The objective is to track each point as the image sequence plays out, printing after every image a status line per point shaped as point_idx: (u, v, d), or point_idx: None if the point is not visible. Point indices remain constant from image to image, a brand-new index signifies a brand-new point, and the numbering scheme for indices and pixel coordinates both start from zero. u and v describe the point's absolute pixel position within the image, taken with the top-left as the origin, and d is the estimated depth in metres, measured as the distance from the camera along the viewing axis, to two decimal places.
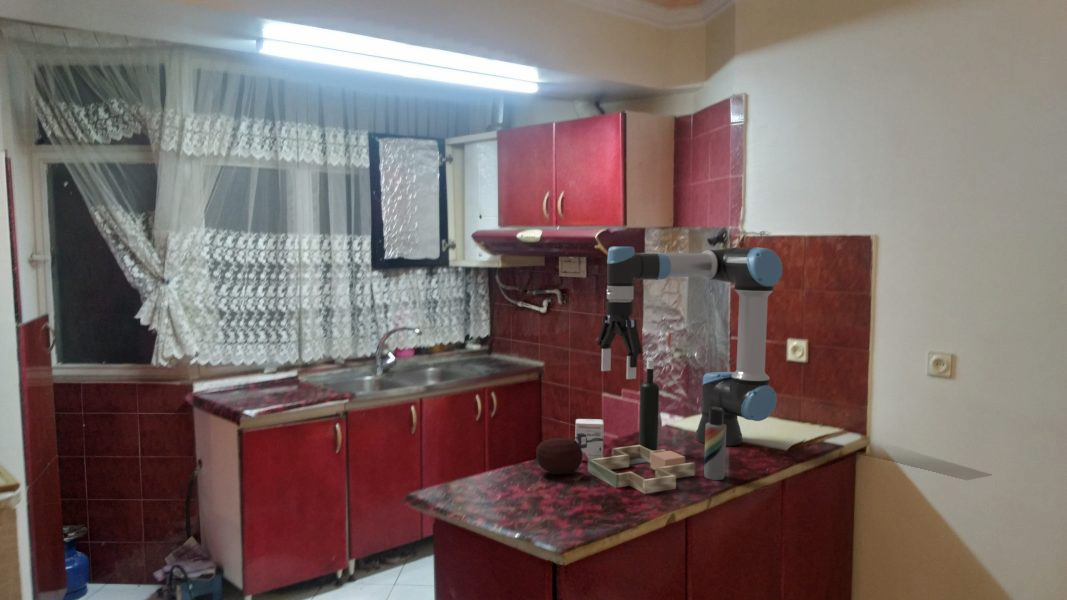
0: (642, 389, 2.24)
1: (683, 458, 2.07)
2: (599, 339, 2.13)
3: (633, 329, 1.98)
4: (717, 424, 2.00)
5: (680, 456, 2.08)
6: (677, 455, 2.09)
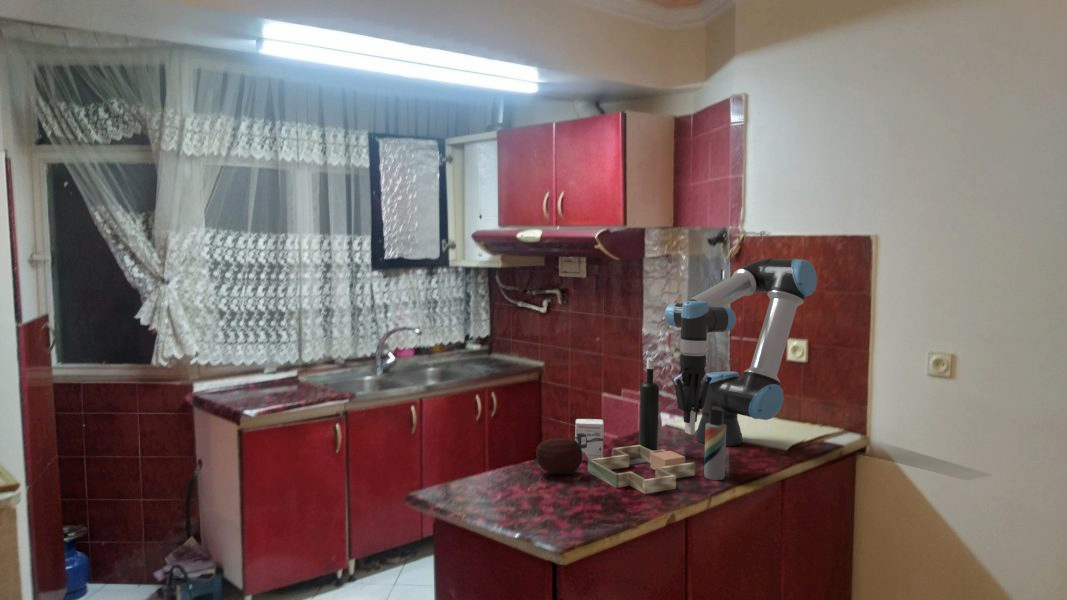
0: (642, 389, 2.24)
1: (683, 458, 2.07)
2: None
3: (677, 387, 2.08)
4: (717, 424, 2.00)
5: (680, 456, 2.08)
6: (677, 455, 2.09)
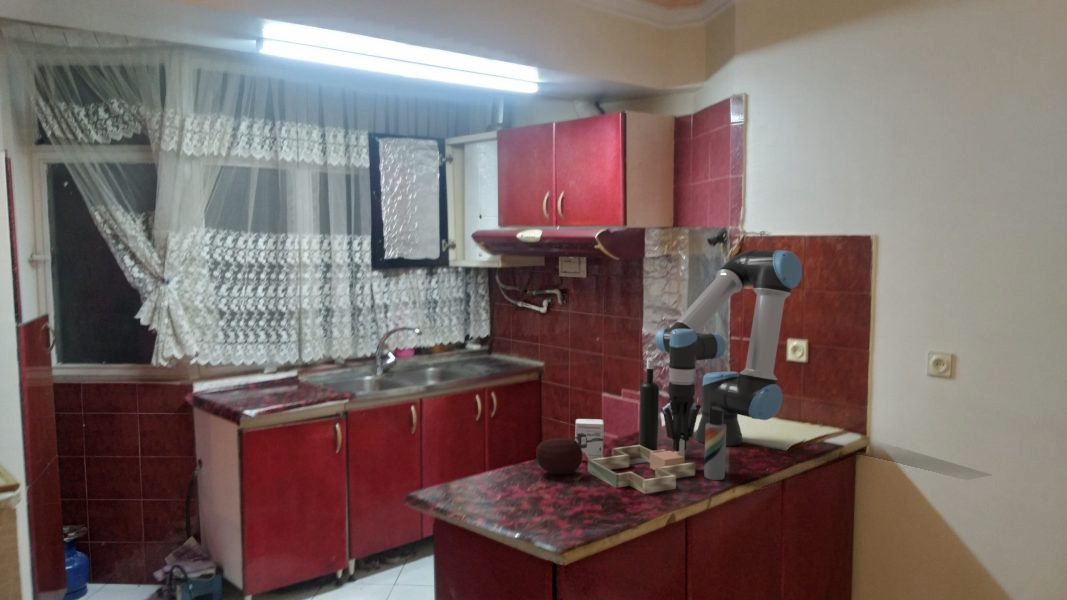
0: (642, 389, 2.24)
1: (683, 458, 2.07)
2: None
3: (666, 416, 2.07)
4: (717, 424, 2.00)
5: (680, 456, 2.08)
6: (677, 455, 2.09)
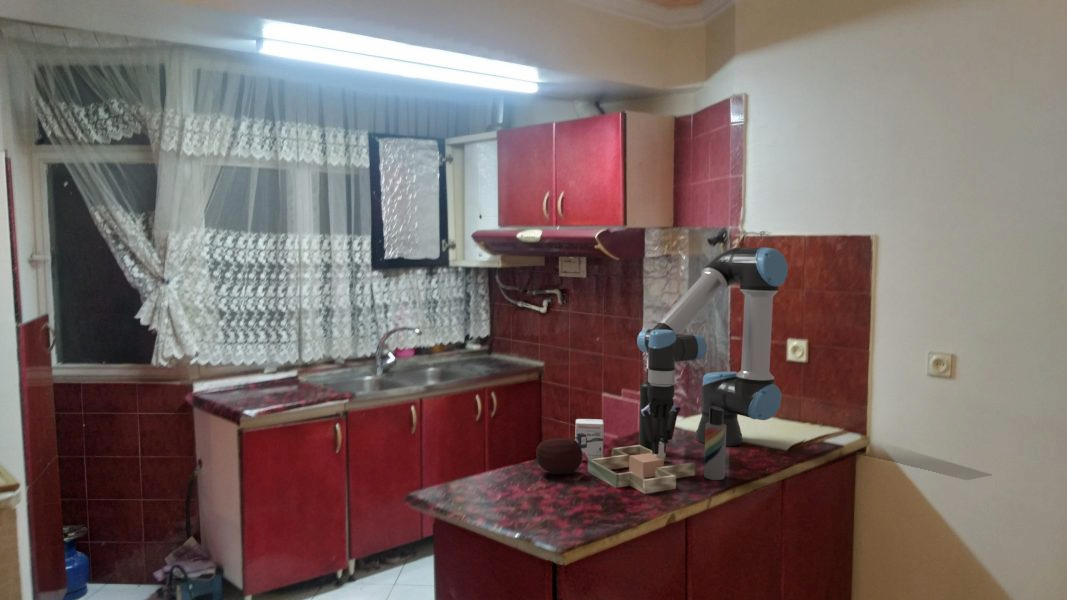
0: (642, 389, 2.24)
1: (662, 461, 2.04)
2: None
3: (645, 418, 2.04)
4: (717, 424, 2.00)
5: (659, 459, 2.04)
6: (656, 458, 2.05)
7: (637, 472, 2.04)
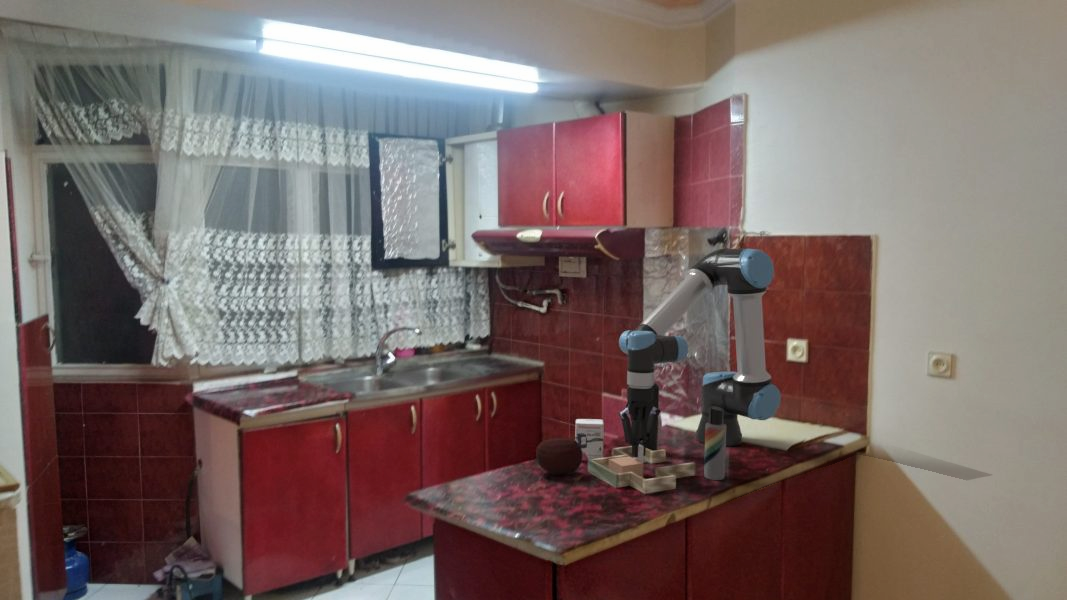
0: None
1: (641, 464, 2.01)
2: None
3: (624, 421, 2.01)
4: (717, 424, 2.00)
5: (638, 462, 2.01)
6: (635, 461, 2.02)
7: None
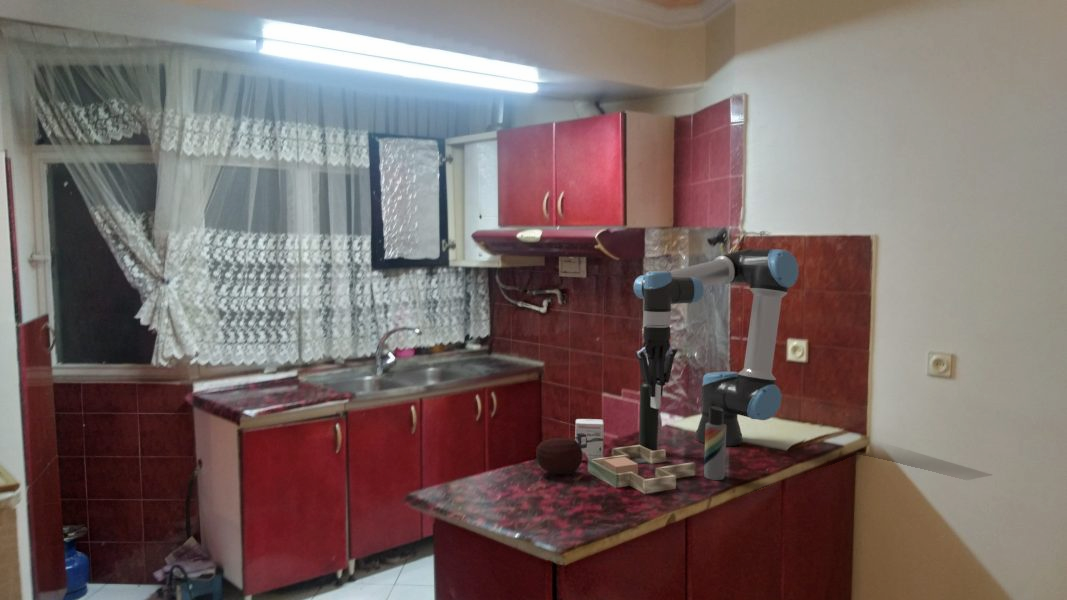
0: (642, 389, 2.24)
1: (636, 465, 2.00)
2: None
3: (641, 360, 2.02)
4: (717, 424, 2.00)
5: (633, 463, 2.00)
6: (630, 462, 2.01)
7: None
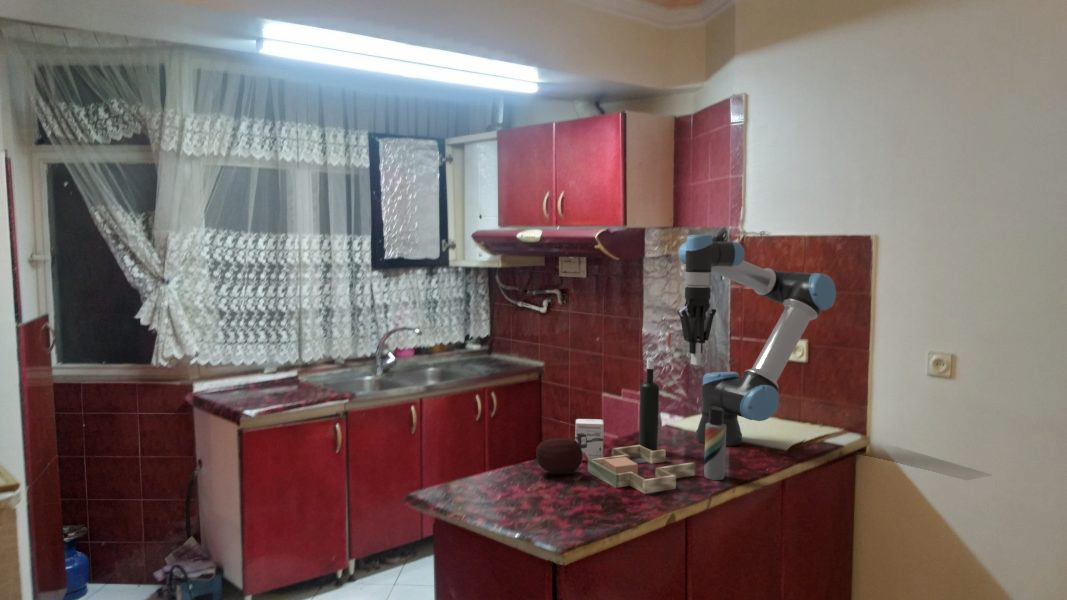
0: (642, 389, 2.24)
1: (636, 465, 2.00)
2: None
3: (683, 319, 2.14)
4: (717, 424, 2.00)
5: (633, 463, 2.00)
6: (630, 462, 2.01)
7: None
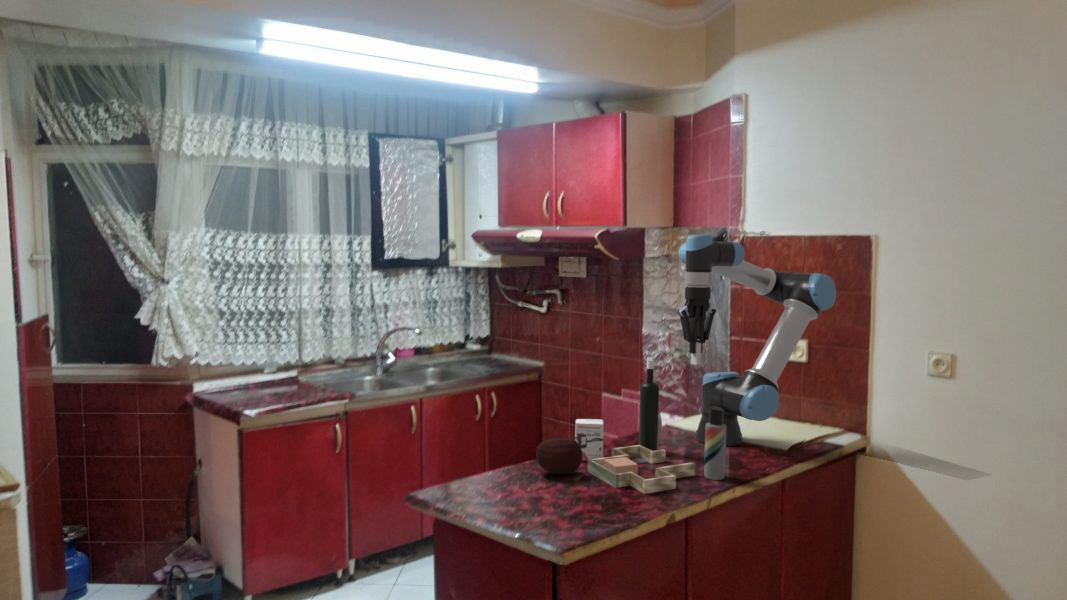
0: (642, 389, 2.24)
1: (635, 465, 2.00)
2: None
3: (683, 319, 2.14)
4: (717, 424, 2.00)
5: (633, 463, 2.00)
6: (630, 462, 2.01)
7: None
